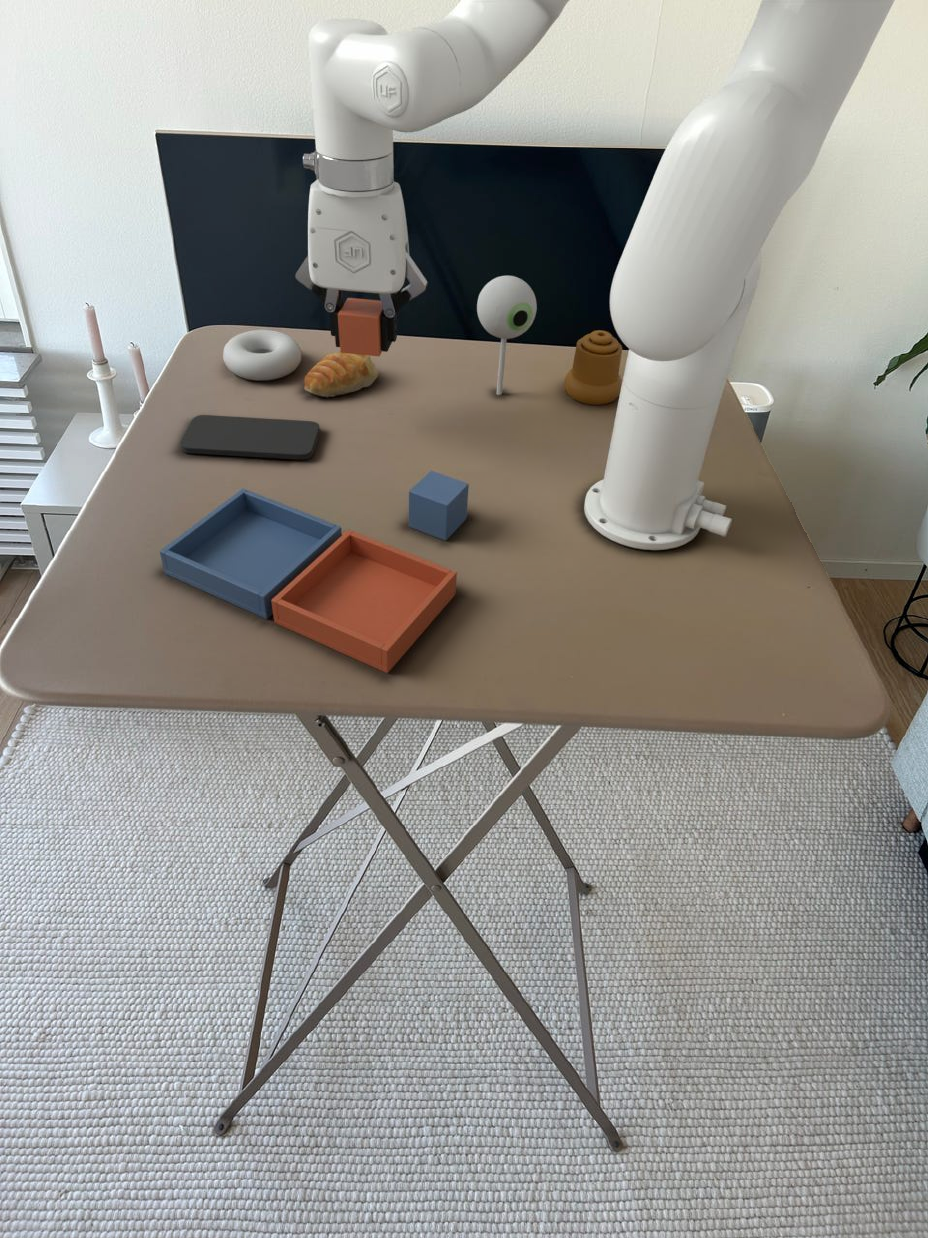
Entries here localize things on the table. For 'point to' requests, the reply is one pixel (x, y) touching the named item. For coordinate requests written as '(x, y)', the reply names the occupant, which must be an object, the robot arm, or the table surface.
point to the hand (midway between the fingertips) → (364, 342)
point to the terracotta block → (360, 327)
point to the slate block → (438, 505)
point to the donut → (262, 355)
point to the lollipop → (506, 312)
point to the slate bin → (248, 550)
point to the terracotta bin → (365, 599)
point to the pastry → (340, 374)
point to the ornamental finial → (595, 369)
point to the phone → (250, 437)
